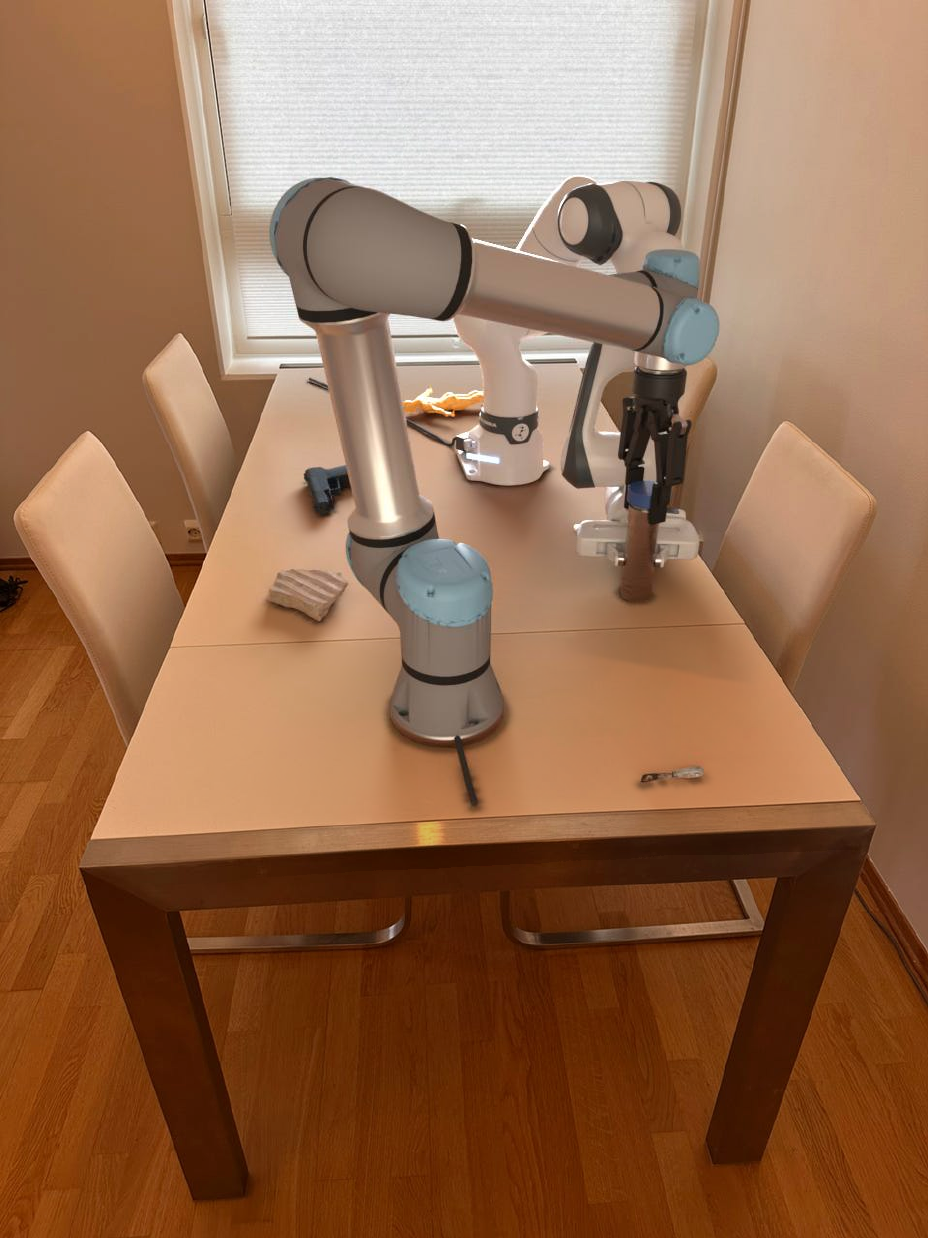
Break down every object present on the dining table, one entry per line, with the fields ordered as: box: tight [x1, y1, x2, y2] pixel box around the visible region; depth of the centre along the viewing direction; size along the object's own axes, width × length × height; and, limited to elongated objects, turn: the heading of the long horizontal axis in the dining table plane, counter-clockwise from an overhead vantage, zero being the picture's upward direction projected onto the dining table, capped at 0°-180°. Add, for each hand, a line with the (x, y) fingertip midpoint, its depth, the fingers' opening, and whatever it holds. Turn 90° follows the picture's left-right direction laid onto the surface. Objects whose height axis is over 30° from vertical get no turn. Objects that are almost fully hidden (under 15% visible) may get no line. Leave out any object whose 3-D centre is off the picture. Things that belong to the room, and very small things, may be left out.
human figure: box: [403, 385, 483, 418], centre depth 225 cm, size 20×20×4 cm
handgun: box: [303, 464, 351, 515], centre depth 181 cm, size 3×18×12 cm
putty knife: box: [640, 765, 705, 784], centre depth 109 cm, size 1×8×2 cm, turn 103°
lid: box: [627, 481, 657, 509], centre depth 138 cm, size 6×6×2 cm
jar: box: [619, 504, 659, 603], centre depth 143 cm, size 5×5×18 cm
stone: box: [267, 568, 349, 622], centre depth 146 cm, size 13×12×2 cm
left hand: (644, 514), depth 140 cm, fingers closed on lid, 6 cm apart
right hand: (639, 563), depth 143 cm, fingers closed on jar, 5 cm apart
